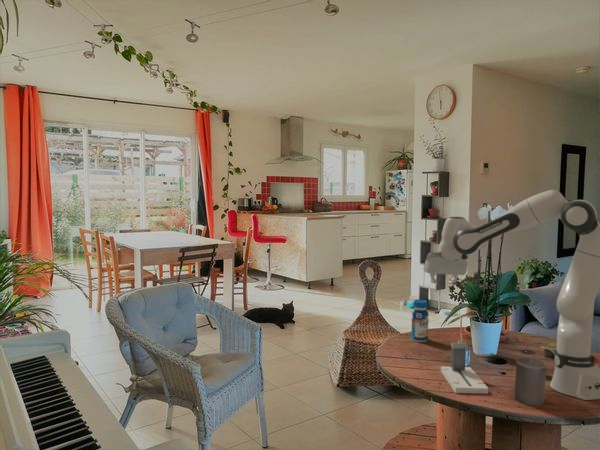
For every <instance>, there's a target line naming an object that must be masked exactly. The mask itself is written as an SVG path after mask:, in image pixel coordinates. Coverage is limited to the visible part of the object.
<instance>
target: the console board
mask: <svg viewBox="0 0 600 450" xmlns="http://www.w3.org/2000/svg"><path fill="white" fill-rule="evenodd" d="M440 372H441V374H442V376H443V377H444V378H445V380H446V381H447V383H448V384H449V386H450V387H451V388H452V390H453V391H454V393H456V394H484V395H485V394H489V387H488V386H487V384H485V383H484V381H483V380H482V379H481V378H480V377H479V375H477V373H476V372H475V371H474V370H473V369H472V367H470V366H465V370H452V368H451V366H440Z"/></svg>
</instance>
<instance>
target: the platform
mask: <svg viewBox="0 0 600 450" xmlns="http://www.w3.org/2000/svg"><path fill="white" fill-rule="evenodd" d="M541 348H542V349H544V350H543V351H544V353H543V357H545V358H546V357H547V358H548V357H555V350H556V349H557V342H550V343H549V342H547V345H541Z"/></svg>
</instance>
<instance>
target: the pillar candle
mask: <svg viewBox="0 0 600 450" xmlns="http://www.w3.org/2000/svg"><path fill="white" fill-rule="evenodd" d="M515 362H516V365H515V383H514V384H515V385H514V399H515V400H516V401H517V402H519V403H520V404H523V405H527V406H534V407H535V406H536V407H537V406H543V404H544V403H545V392H546V377H547V376H546V374H547V365H546V363H545V362H543V361H540V360H538V359H534V358H529V357H527V358H526V357H525V358H524V357H523V358H518V359H517V360H516V361H515Z"/></svg>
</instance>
